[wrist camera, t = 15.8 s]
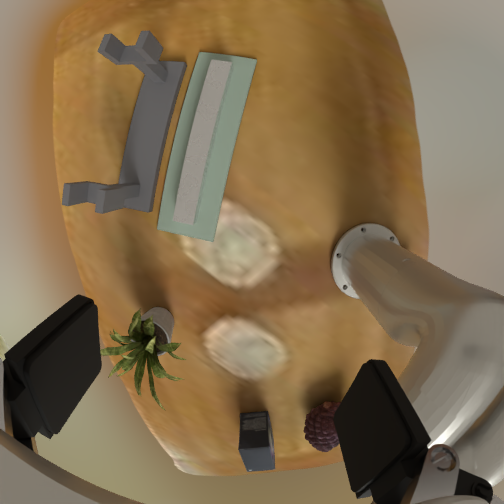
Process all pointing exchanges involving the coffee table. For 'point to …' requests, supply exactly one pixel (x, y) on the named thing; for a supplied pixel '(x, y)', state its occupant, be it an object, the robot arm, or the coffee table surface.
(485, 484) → the robot arm
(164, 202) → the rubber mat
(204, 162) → the steel rail
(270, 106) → the coffee table surface
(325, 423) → the pine cone
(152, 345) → the house plant
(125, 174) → the grey base with uprights
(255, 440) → the small box
